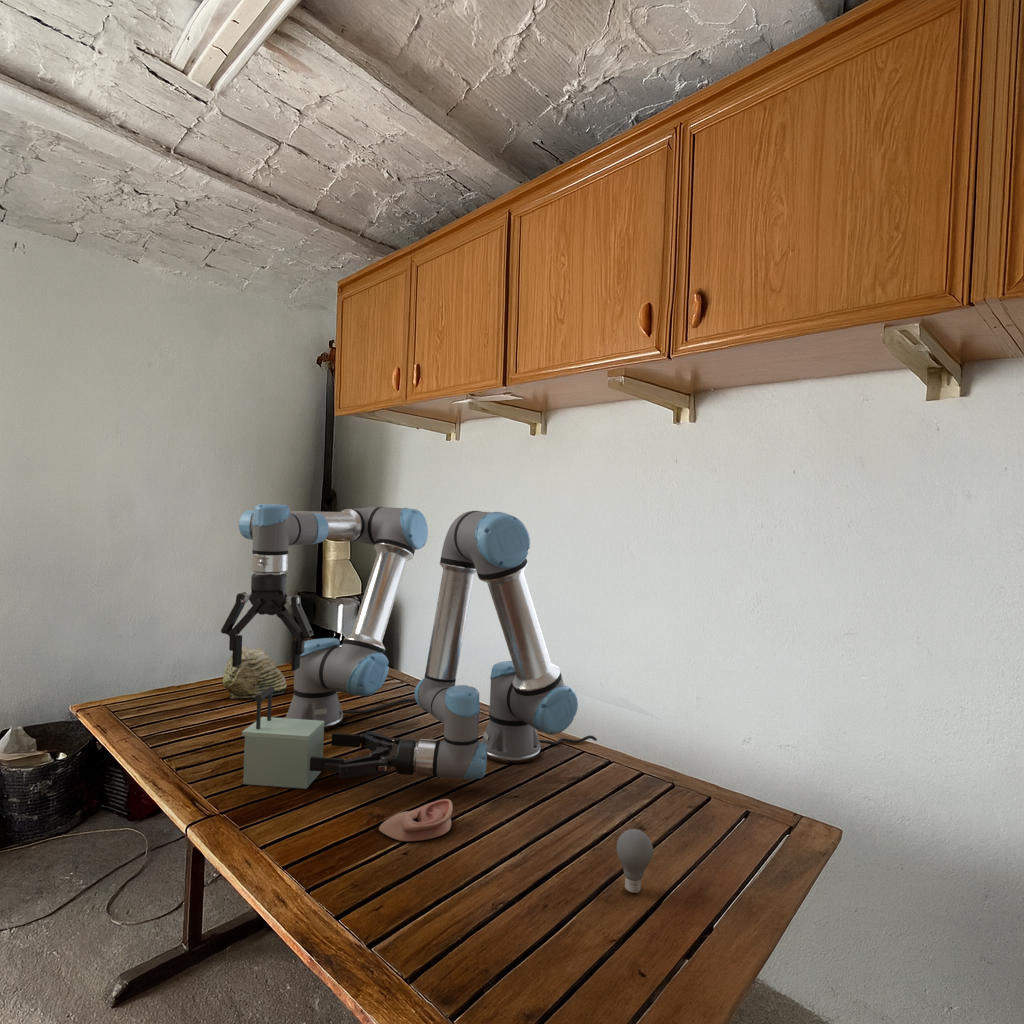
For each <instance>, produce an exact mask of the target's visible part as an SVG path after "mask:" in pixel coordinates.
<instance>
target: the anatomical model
mask: <svg viewBox="0 0 1024 1024" xmlns="http://www.w3.org/2000/svg"><path fill="white" fill-rule="evenodd" d="M453 807H454V806H453V802H452V801H451V800H450V799H449V798H443V799H439V800H434V801H432V802H429V803H426V804H424V805H422V806H419V807H417V808H415V809H412V810H409V811H407V810H406V811H401V812H399V813H396V814H394V815H392V816H390V817H388V818H387V819H386V820H385V821H383V822H382V823H381V824H380V825H379V827H378V830H379V832H380V833H382V834H383V835H385V836H387V837H388V838H391V839H394V840H396V841H399V842H417V841H425V840H431V839H434V838H438V837H440V836H443V835H446V834H447V833H448V832H449V831H450V829H451V828H452V818H451V817H452V814H453Z"/></svg>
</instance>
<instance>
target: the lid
mask: <svg viewBox="0 0 1024 1024" xmlns="http://www.w3.org/2000/svg"><path fill="white" fill-rule="evenodd" d="M274 691H275V689H274V688H273V687H269V688H267V689H266V690H264V691H262V692H261V693H259V694H258V695H256V696H255V697H254V701H255V702H256V715H255V716H256V718H255V719H256V720H255V721H254V722H253V723H251V724H250V725H249V726H248V727H246V728H245V729H243V730H242V731H241V737H245V736H248V737H262V738H277V739H291V740H306V741H308V740H309V739H311V738H312V737H313V736H314V735H315V734H316V733H317V732H318V731H319V730H320V729H321V728H322V727H323V726H324V721H319V720H304V719H289V718H286V717H273V716H272V709H273V708H272V707H273V695H272V694H273V693H274ZM265 699H267V713H266V714H267V716H262V702H263V701H264V700H265Z"/></svg>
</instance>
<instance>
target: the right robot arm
mask: <svg viewBox="0 0 1024 1024" xmlns="http://www.w3.org/2000/svg"><path fill="white" fill-rule="evenodd" d="M530 548H531V538H530V533H529V531H528V528H527V527H526V526H525V524H524V522H523V521H522V520H520V519H519V518H518V517H516V516H514V515H512V514H509V513H506V512H502V511H481V510H469V511H466V512H463V513H461V514H460V515H458V516H457V517H456V518H455V519H454V520H453V522H452V523H451V524H450V526H449V528H448V530H447V532H446V535H445V537H444V541H443V545H442V548H441V554H440V560H439V565H440V567H441V568H442V574H441V578H440V579H441V580H440V584H439V590H438V597H437V603H436V607H435V614H434V618H433V619H434V620H433V626H432V631H431V636H430V643H429V648H428V653H427V661H426V666H425V670H424V671H425V672H424V676H423V677H424V678H422V679H421V680H419V682H418V683H417V684H416V686H415V688H414V692H413V693H414V695H413V696H414V698H415V700H416V701H415V702H416V703H417V705H418V706H419V707H420V708H421V709H422V710H423V711H424V712H426V713H428V714H430V715H431V716H433V717H434V718H435V719H436V720H438V721H439V722H441V724H443V740H441V739H429V738H420V739H419V740H418V739H417V738H410V737H409V738H407V737H402V738H400V737H399V738H398V737H392V736H389V735H385V734H382V733H378V732H376V731H375V732H374V731H371V730H367V731H366V732H365V733H361V734H353V733H341V732H332V734H331V747H343V748H344V747H346V748H360V750H361V749H367V750H369V751H370V752H369V753H368V754H366V755H361V756H357V757H352V758H348V759H345V758H343V757H327V756H323V757H312V756H311V757H310V771H321V772H325V773H338V774H339V779H340V780H342V779H350V778H351V779H352V778H359V777H364V776H365V777H366V776H372V775H387V774H388V773H389V768H395V772H396V774H397V775H402V776H403V775H404V776H413V775H414V774H415V775H416V776H422V777H426V778H427V779H430V778H431V777H435V778H447V779H460V780H461V779H462V780H464V781H465V780H481V779H483V778H484V777H485V776H486V770H487V761H488V760H490V761H494V762H496V763H502V764H511V765H513V764H514V765H515V764H524V763H529V762H533V761H535V760H537V759H538V758H539V757H540V756H541V744H547V745H551V746H558V745H559V744H560V743H561V742H567V743H571V744H581V743H583V742H585V741H587V740H589V739H591V740H593V741H595V742H596V741H598V738H597V737H595V736H594V735H585V736H584V737H582V738H580V739H579V738H578V739H572V738H571V739H570V738H566V737H561V738H559V739H558V740H557V741H551V740H546V739H539V734H538V732H540V733H544V734H546V735H549V736H550V735H552V736H554V735H558V734H560V733H563V732H564V731H565V730H567V729H568V728H569V727H570V725H571V724H572V723H573V721H574V719H575V716H576V715H577V712H578V708H579V700H578V696H577V694H576V692H575V691H574V690H573V689H572V687H570V686H568V685H566V684H565V682H564V679H563V676H562V673H561V669H560V667H559V666H558V665H557V664H555V663H553V662H552V661H551V658H550V655H549V651H548V648H547V644H546V642H545V638H544V635H543V632H542V629H541V625H540V622H539V619H538V615H537V612H536V609H535V605H534V602H533V599H532V595H531V593H530V589H529V585H528V582H527V580H526V579H527V578H526V575H525V573H524V572H525V570H526V569H527V566H528V564H529V561H528V559H527V557H528V555H529V550H530ZM476 574H477V577H478V579H479V580H480V581H481V582H484V583H486V584H487V588H488V590H489V593H490V596H491V599H492V602H493V606H494V609H495V612H496V616H497V618H498V621H499V625H500V628H501V631H502V635H503V637H504V640H505V643H506V647H507V650H508V653H509V656H510V660H504V661H499V662H496V663H495V664H493V666H491V670H490V671H491V672H490V677H489V680H490V687H489V688H490V689H489V714H488V715H489V716H488V717H489V718H488V722H487V725H486V728H485V730H484V733H483V737H482V739H481V742H480V741H479V723H480V711H481V704H480V692H479V689H477V687H474V686H469V685H467V684H458V685H456V681H457V675H458V671H459V664H460V659H461V658H460V657H461V652H462V647H463V642H464V635H465V631H466V624H467V619H468V612H469V607H470V601H471V600H470V599H471V596H472V589H473V584H474V580H475V579H474V578H475V575H476Z"/></svg>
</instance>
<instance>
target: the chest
mask: <svg viewBox="0 0 1024 1024" xmlns="http://www.w3.org/2000/svg"><path fill="white" fill-rule="evenodd" d="M324 741H325V731H324V726H323V727H322V728H321V729H320V730H319V731H318V732H317V733H316V734H315V735H314V736H313V737H312V738H311V739H309V740H308V741H306V740H291V739H277V738H262V737H248V736H244V747H243V748H244V753H243V778H242V779H243V781H242V784H243V785H248V786H249V785H251V786H263V787H264V786H265V787H278V788H290V789H291V788H292V789H308V788H309V787H310V785H311V784H312V783H313V782H314V781H315V780H316V779H317V778H318V776H319V775H320V774H321V773H322V771H310V757H311V756H312V757H324V743H325V742H324Z"/></svg>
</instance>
